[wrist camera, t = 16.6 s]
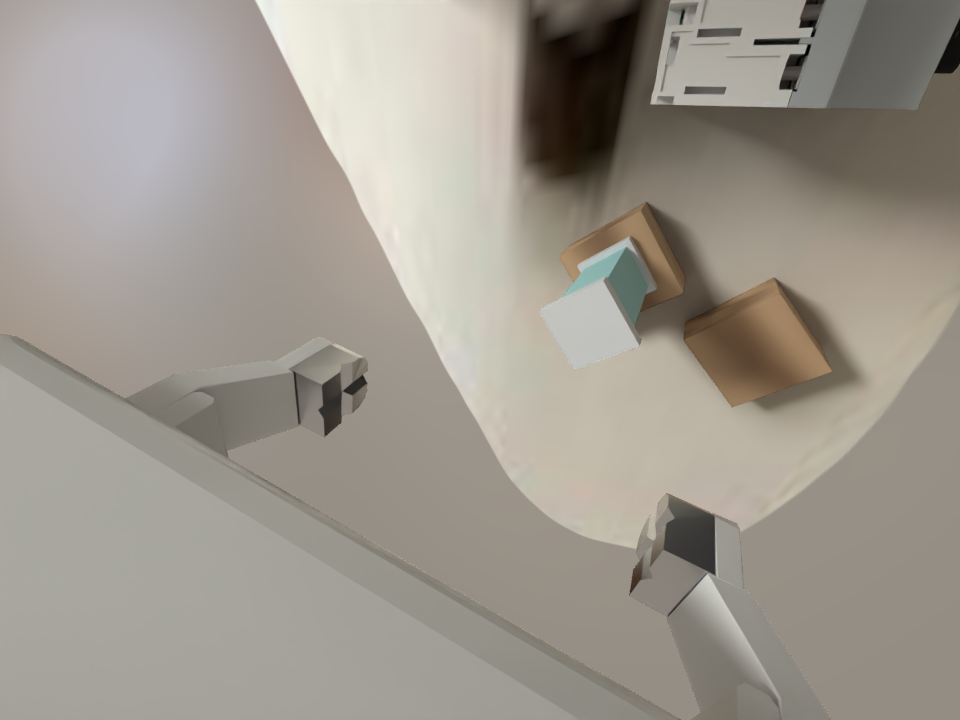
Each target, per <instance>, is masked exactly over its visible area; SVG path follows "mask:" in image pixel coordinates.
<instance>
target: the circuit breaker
mask: <svg viewBox="0 0 960 720" xmlns="http://www.w3.org/2000/svg"><path fill="white" fill-rule="evenodd" d="M959 64H960V0H670V4H669V9H668V14H667V19H666V24H665V30H664V35H663V40H662V45H661V51H660V56H659V61H658V66H657V70H658V71H657V76H656V81H655V86H654V91H653V93H652V98H651V103H650V104H662V105H701V106H744V107H788V108H847V109H891V110H917V108H918V106H919V104H920V102H921V100H922V97H923V95H924V93H925V91H926V89H927V87H928V85H929V83H930V80H931V78H932V76H933V74H934V73H953V72H954V71H955V69H956V68H957V67H958V65H959Z"/></svg>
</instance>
